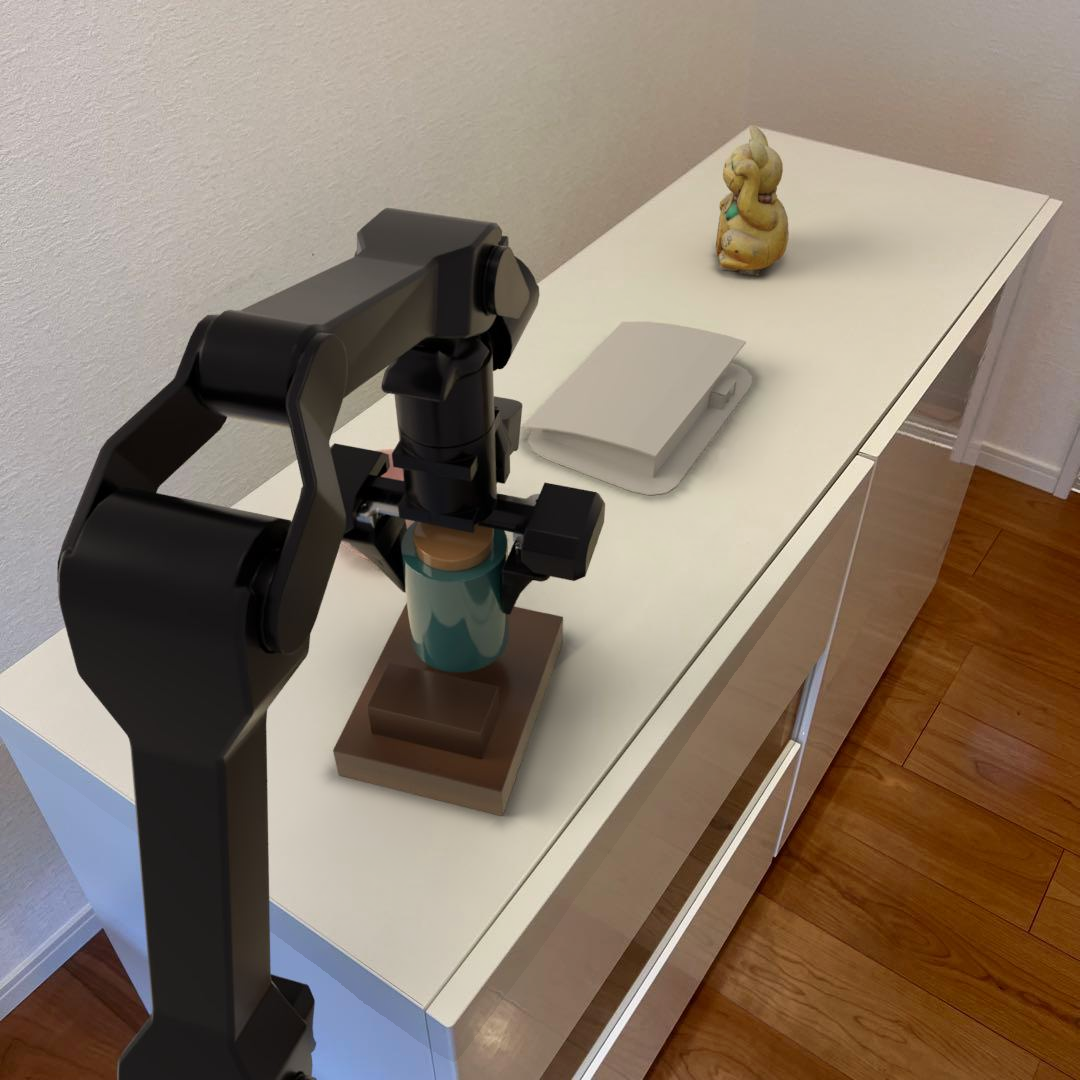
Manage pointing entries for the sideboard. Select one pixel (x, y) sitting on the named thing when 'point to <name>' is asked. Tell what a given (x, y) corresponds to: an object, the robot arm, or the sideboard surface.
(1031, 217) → the sideboard surface
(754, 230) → the decorative figurine
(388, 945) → the sideboard surface
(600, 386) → the grey flat folded piece
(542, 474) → the sideboard surface
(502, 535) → the jar
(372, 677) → the stand
